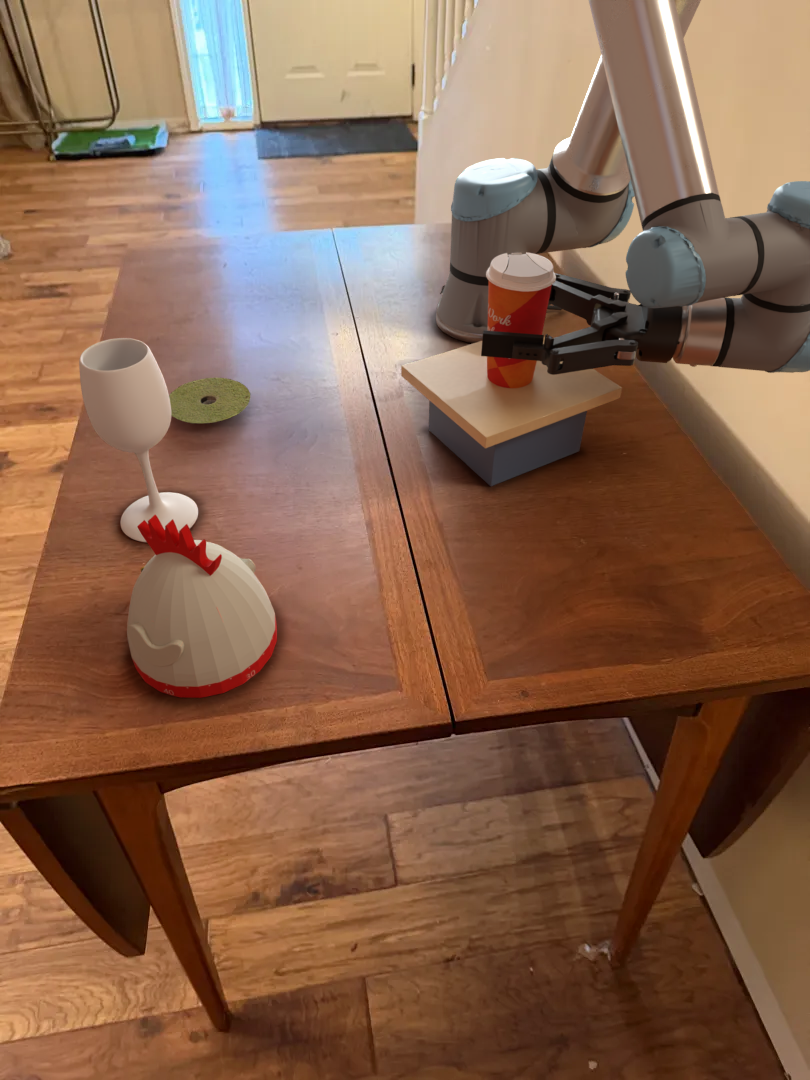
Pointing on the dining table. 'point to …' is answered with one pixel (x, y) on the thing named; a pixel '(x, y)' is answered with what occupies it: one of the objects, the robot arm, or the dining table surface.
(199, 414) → the green disc with hole
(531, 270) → the paper cup
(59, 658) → the dining table surface
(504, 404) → the stand
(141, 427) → the wineglass
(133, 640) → the kitchen timer
